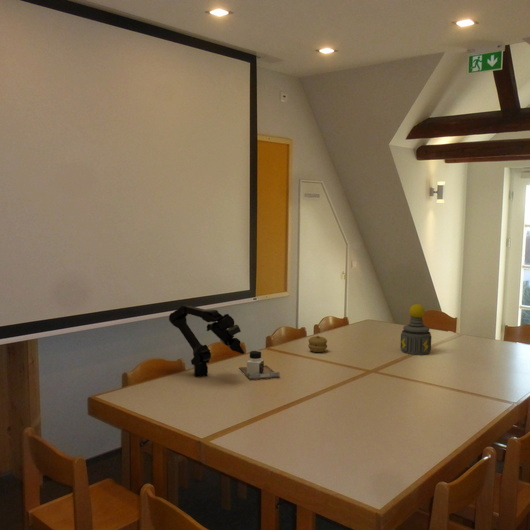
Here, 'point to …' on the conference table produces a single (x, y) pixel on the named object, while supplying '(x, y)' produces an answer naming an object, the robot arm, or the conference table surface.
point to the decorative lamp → (416, 334)
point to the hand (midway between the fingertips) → (240, 351)
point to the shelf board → (266, 370)
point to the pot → (317, 344)
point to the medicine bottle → (255, 363)
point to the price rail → (264, 375)
